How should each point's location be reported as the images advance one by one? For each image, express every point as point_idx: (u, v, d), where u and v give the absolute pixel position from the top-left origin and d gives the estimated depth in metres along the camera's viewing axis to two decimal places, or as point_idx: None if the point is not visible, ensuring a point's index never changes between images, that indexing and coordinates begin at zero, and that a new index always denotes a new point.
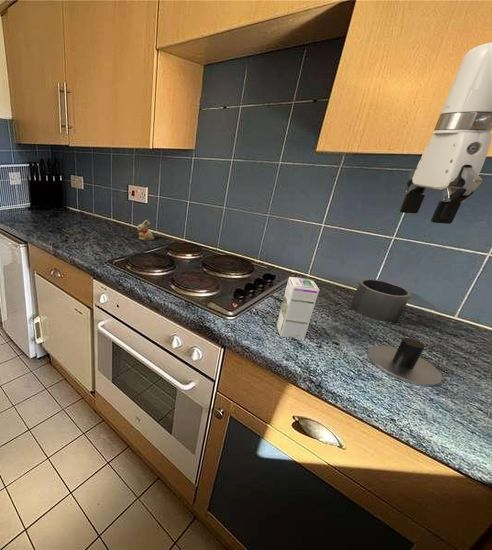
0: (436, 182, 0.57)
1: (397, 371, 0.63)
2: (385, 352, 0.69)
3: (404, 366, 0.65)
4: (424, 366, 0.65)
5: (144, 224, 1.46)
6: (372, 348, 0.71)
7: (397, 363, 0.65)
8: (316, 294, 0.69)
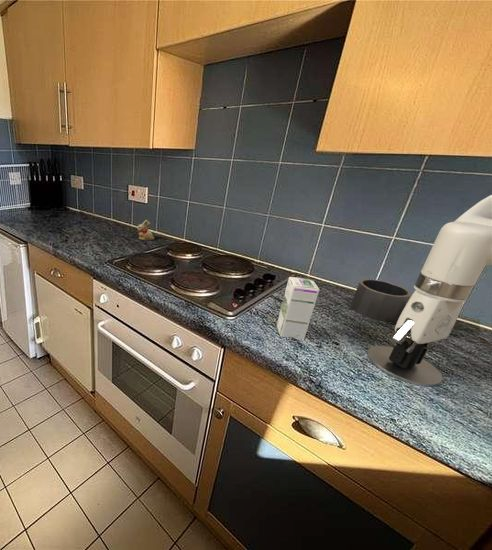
0: None
1: (397, 371, 0.63)
2: (385, 352, 0.69)
3: None
4: (424, 366, 0.65)
5: (144, 224, 1.46)
6: (372, 348, 0.71)
7: None
8: (316, 294, 0.69)
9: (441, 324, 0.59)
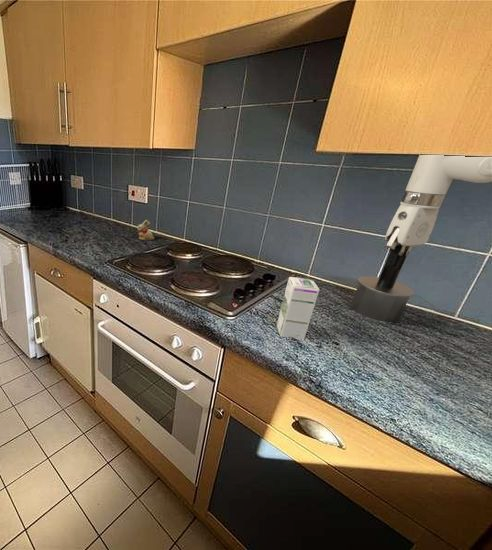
0: None
1: (380, 289, 0.82)
2: (371, 279, 0.88)
3: (385, 286, 0.84)
4: (401, 287, 0.84)
5: (144, 224, 1.46)
6: (361, 277, 0.90)
7: (380, 284, 0.84)
8: (316, 294, 0.69)
9: (420, 229, 0.76)
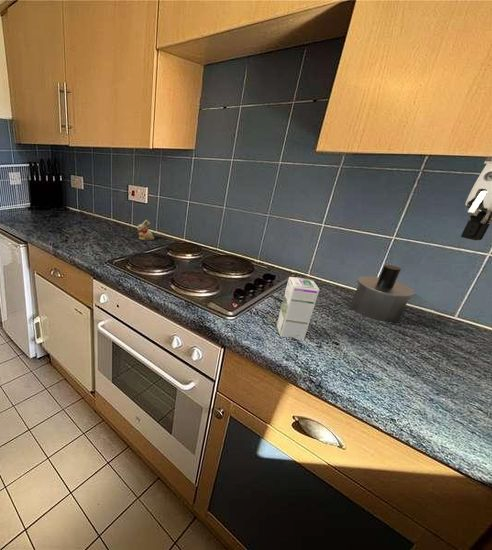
0: None
1: (380, 289, 0.82)
2: (371, 279, 0.88)
3: (385, 286, 0.84)
4: (401, 287, 0.84)
5: (144, 224, 1.46)
6: (361, 277, 0.90)
7: (380, 284, 0.84)
8: (316, 294, 0.69)
9: None
